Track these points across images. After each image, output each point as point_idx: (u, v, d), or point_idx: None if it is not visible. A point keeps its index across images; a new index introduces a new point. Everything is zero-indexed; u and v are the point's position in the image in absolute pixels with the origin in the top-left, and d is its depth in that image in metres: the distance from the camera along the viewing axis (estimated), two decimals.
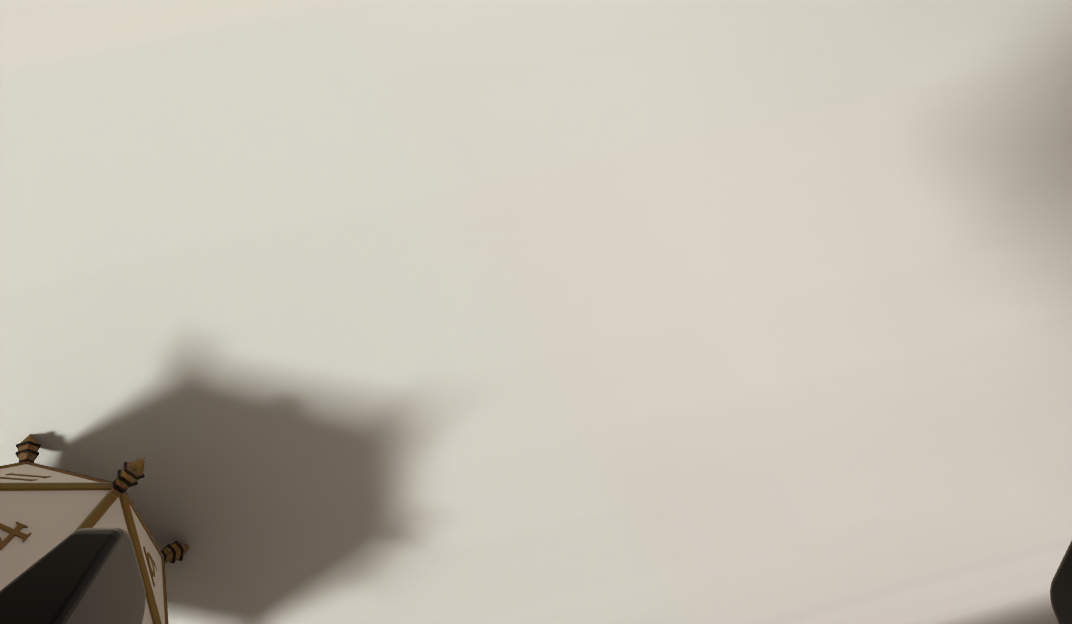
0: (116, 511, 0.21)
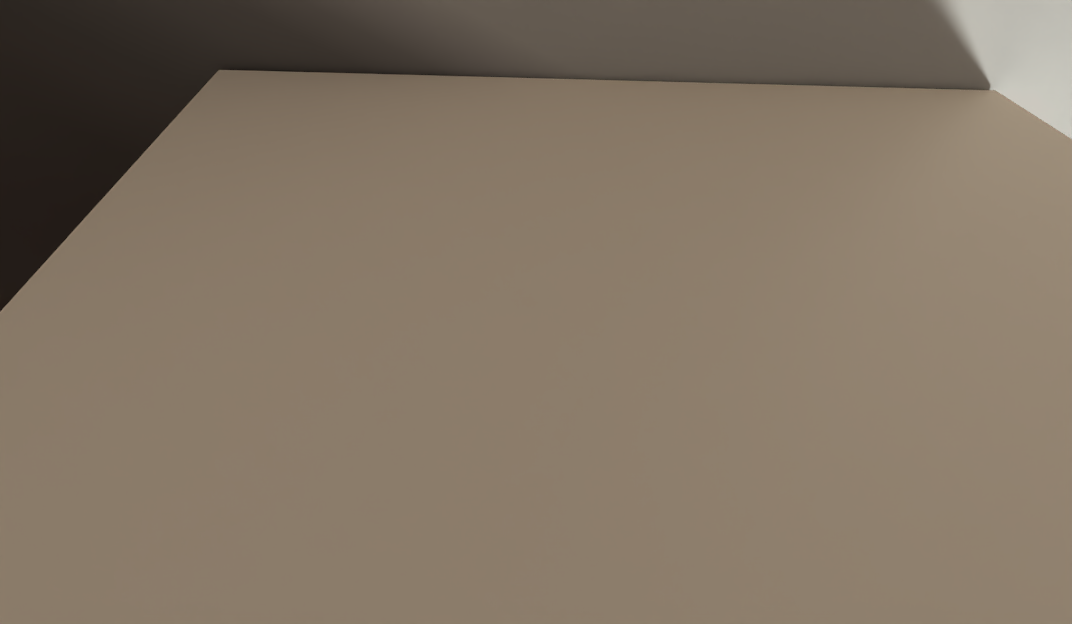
0: None
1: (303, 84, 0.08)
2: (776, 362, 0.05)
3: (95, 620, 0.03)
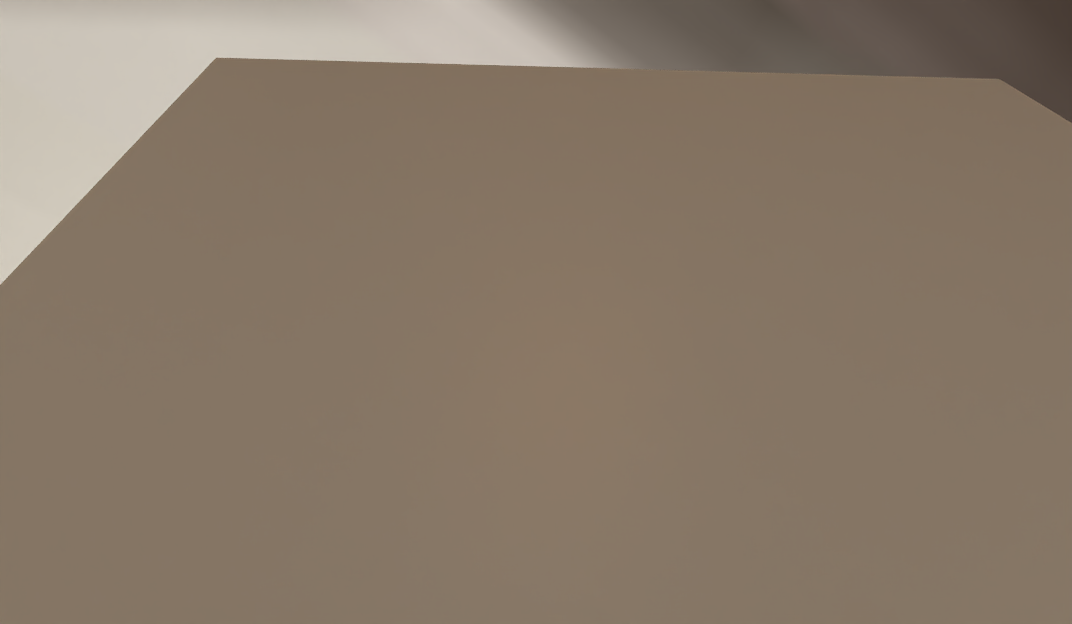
0: None
1: (301, 72, 0.08)
2: (781, 344, 0.04)
3: (85, 600, 0.03)
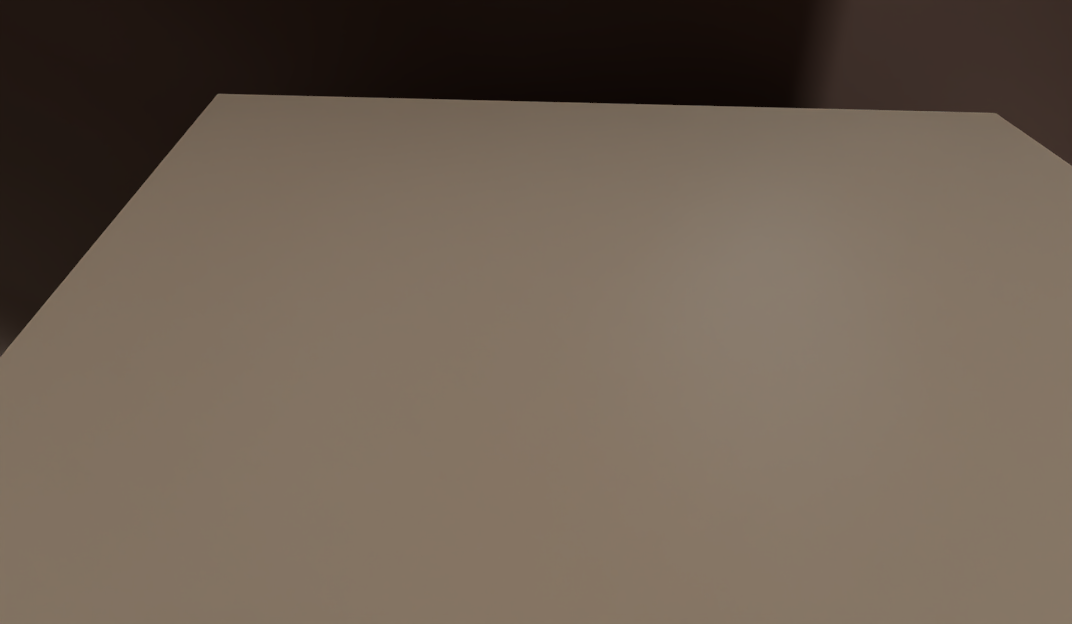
0: None
1: (301, 110, 0.08)
2: (775, 411, 0.05)
3: None
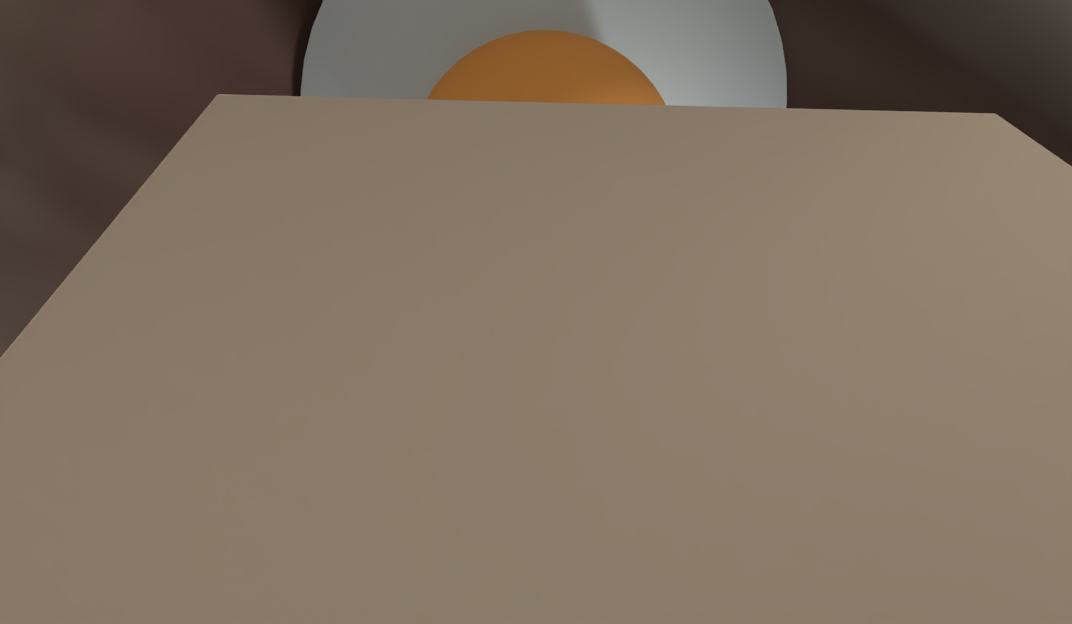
0: None
1: (300, 110, 0.08)
2: (775, 411, 0.05)
3: None
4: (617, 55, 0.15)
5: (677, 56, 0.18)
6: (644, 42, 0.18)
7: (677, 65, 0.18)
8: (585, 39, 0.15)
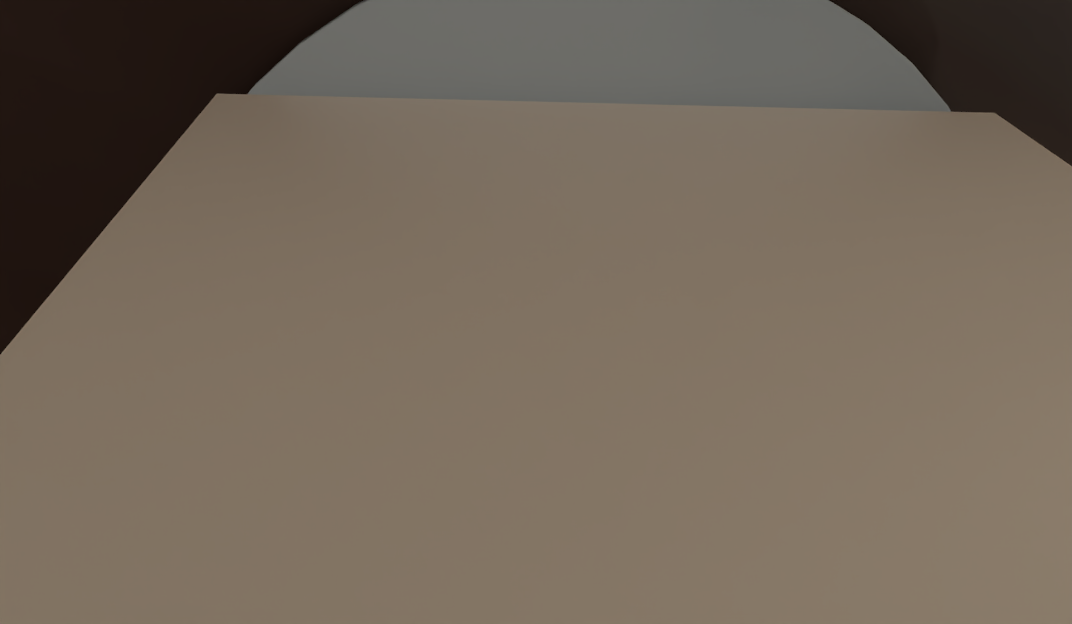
0: None
1: (300, 109, 0.08)
2: (773, 410, 0.05)
3: None
4: None
5: None
6: None
7: None
8: None
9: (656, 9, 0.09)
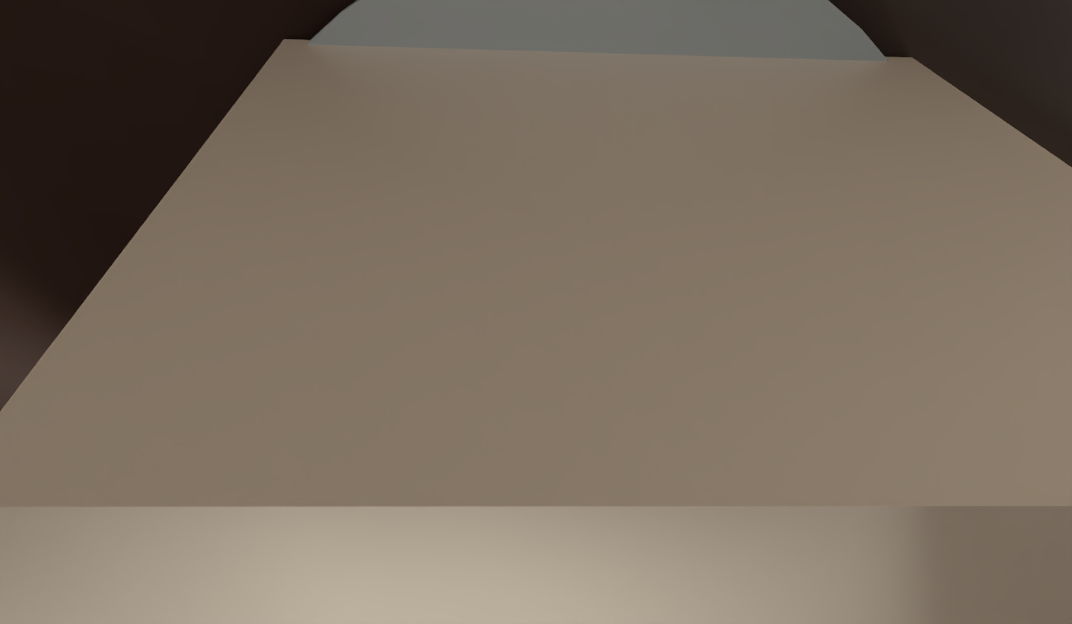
0: None
1: (353, 51, 0.10)
2: (707, 223, 0.07)
3: (277, 339, 0.05)
4: None
5: None
6: None
7: None
8: None
9: None
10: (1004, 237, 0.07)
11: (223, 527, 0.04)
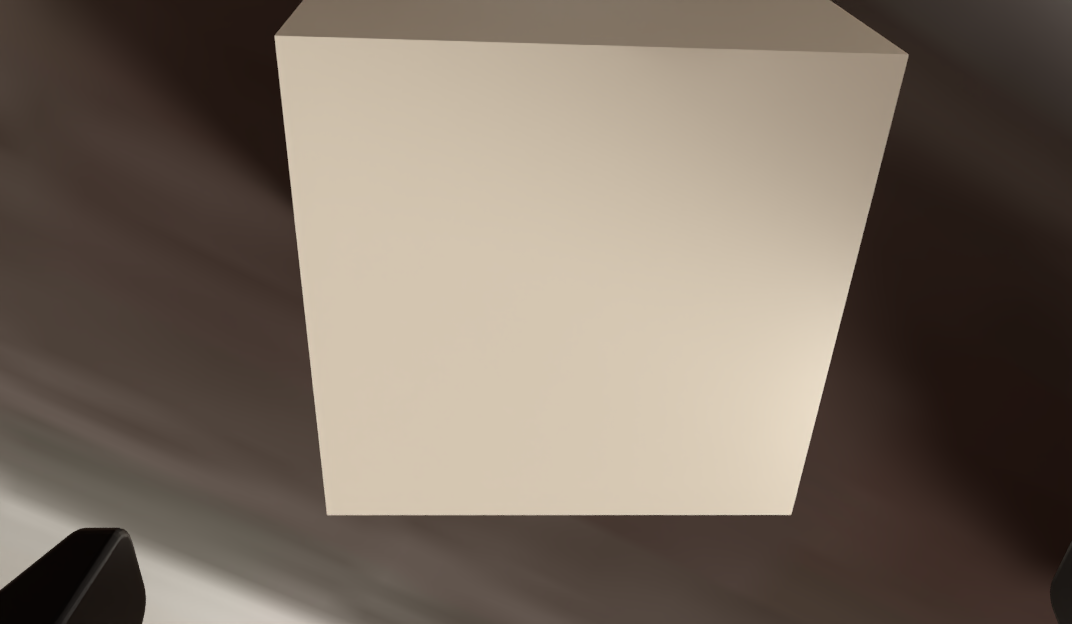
0: None
1: None
2: None
3: (390, 13, 0.12)
4: None
5: None
6: None
7: None
8: None
9: None
10: None
11: (381, 50, 0.11)
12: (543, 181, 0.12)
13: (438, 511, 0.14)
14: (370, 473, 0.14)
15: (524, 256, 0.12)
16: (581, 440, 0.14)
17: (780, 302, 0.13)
